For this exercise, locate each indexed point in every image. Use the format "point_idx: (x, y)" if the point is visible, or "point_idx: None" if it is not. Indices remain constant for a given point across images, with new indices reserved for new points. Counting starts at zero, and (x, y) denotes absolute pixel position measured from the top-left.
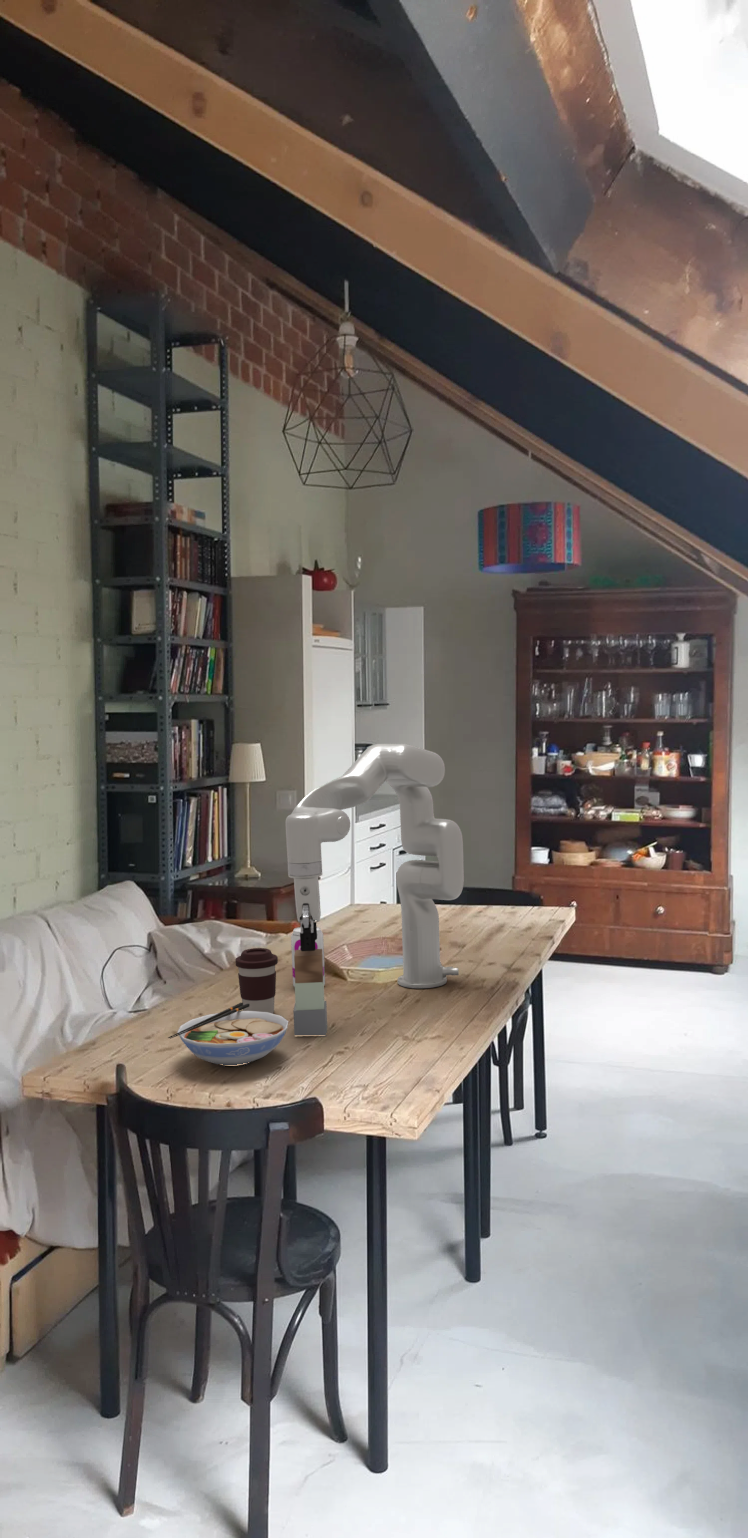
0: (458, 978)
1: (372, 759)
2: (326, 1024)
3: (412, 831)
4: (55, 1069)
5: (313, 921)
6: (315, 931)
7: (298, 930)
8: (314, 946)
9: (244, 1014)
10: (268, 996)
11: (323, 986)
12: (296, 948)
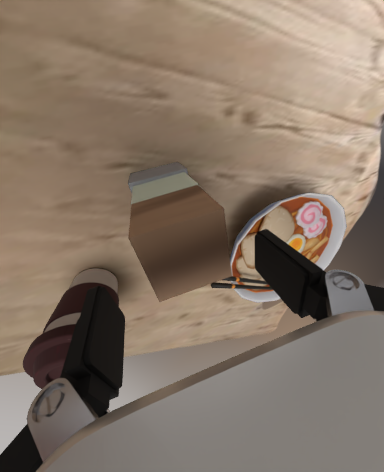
0: None
1: None
2: (158, 168)
3: None
4: (263, 330)
5: (71, 382)
6: (99, 315)
7: None
8: (273, 237)
9: (231, 268)
10: (102, 286)
11: (161, 188)
12: None
